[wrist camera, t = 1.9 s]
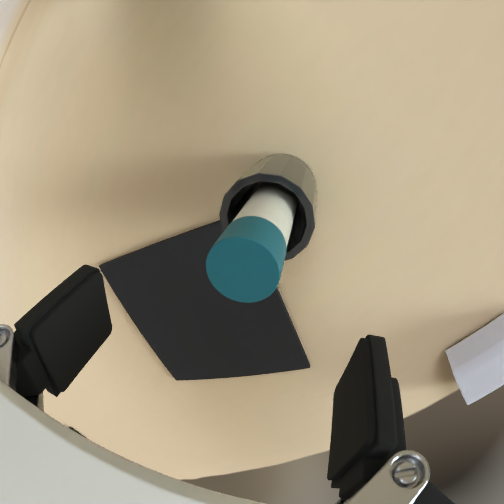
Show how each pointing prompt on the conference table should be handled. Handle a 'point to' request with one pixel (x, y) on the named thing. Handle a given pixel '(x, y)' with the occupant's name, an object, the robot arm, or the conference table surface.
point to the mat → (201, 313)
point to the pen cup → (291, 177)
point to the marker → (254, 245)
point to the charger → (479, 361)
